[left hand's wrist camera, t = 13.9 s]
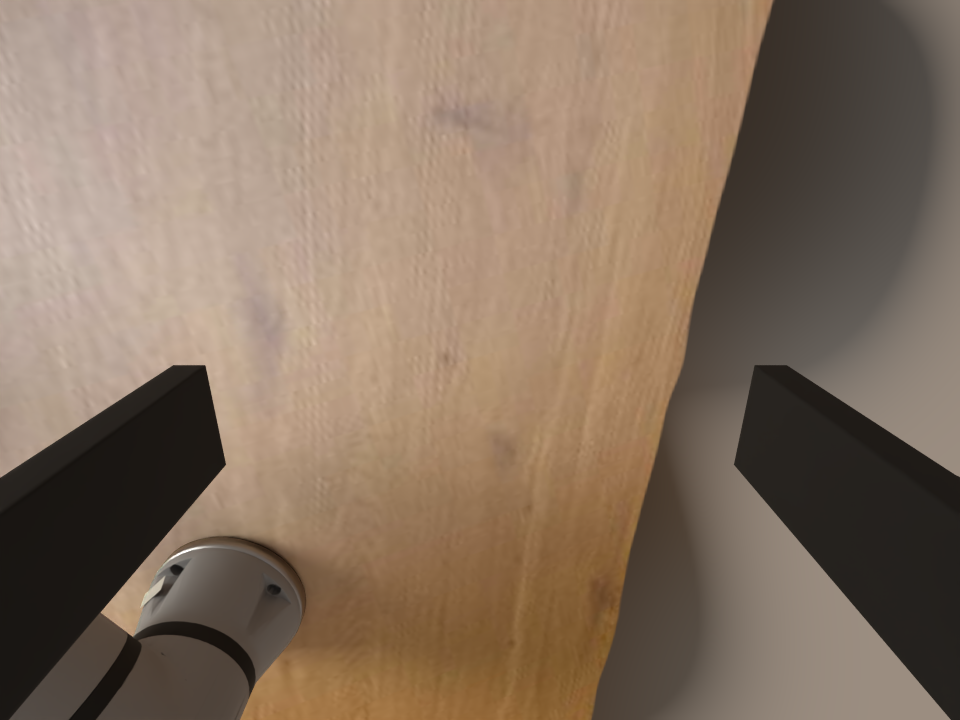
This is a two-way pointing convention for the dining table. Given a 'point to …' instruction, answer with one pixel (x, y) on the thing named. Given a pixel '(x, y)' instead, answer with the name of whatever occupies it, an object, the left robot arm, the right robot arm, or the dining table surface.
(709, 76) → the dining table surface
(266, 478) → the dining table surface
